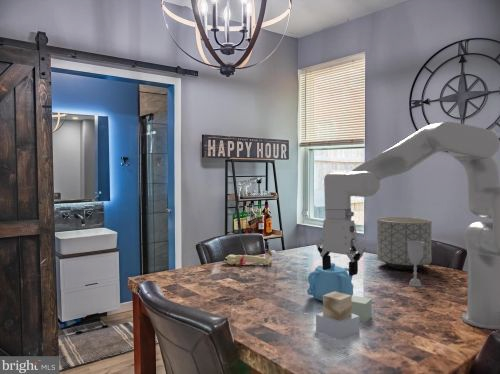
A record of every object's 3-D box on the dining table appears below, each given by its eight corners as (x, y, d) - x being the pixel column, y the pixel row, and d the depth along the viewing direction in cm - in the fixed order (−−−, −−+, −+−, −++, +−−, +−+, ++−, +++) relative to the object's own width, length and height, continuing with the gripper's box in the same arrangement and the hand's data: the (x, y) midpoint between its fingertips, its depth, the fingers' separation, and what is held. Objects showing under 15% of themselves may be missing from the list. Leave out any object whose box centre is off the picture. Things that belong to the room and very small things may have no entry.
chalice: (425, 287, 162) (426, 243, 162) (408, 286, 164) (408, 243, 163) (421, 282, 170) (422, 240, 169) (405, 282, 171) (405, 240, 170)
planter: (427, 276, 180) (427, 223, 179) (371, 269, 193) (371, 220, 192) (434, 265, 201) (434, 218, 201) (383, 260, 214) (383, 215, 214)
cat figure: (272, 265, 209) (225, 260, 213) (273, 249, 209) (227, 244, 212) (270, 270, 199) (221, 264, 203) (271, 253, 199) (223, 247, 202)
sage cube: (371, 317, 130) (371, 298, 130) (365, 322, 125) (365, 303, 125) (353, 313, 133) (353, 295, 133) (347, 318, 128) (347, 300, 128)
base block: (359, 332, 118) (359, 316, 118) (339, 340, 112) (339, 323, 112) (335, 323, 125) (335, 307, 125) (315, 330, 120) (315, 314, 119)
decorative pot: (301, 302, 146) (301, 265, 145) (318, 290, 159) (318, 257, 159) (345, 309, 137) (345, 270, 137) (358, 297, 151) (358, 261, 150)
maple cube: (351, 315, 118) (351, 295, 118) (340, 320, 114) (340, 300, 114) (334, 310, 122) (334, 291, 122) (322, 315, 118) (322, 295, 118)
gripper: (370, 215, 113) (372, 274, 114) (323, 212, 127) (324, 265, 127) (355, 217, 108) (356, 279, 109) (307, 214, 122) (309, 269, 122)
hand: (339, 271), depth 118 cm, fingers open, 9 cm apart
